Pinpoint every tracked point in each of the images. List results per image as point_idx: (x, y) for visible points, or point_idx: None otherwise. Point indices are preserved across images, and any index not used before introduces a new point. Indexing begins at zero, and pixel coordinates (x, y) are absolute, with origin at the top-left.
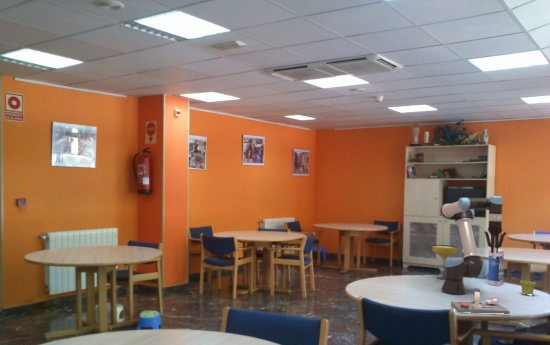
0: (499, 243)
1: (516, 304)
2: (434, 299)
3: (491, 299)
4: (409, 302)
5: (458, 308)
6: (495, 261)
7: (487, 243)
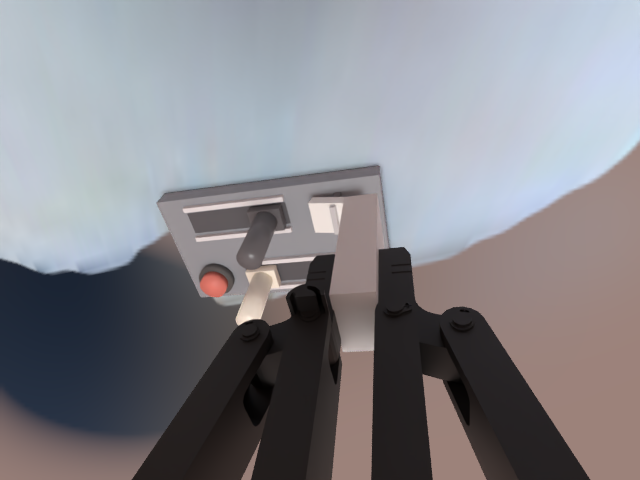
0: (480, 377)
1: (526, 41)
2: (70, 100)
3: (333, 222)
4: (2, 197)
5: (197, 287)
6: None
7: (214, 369)
